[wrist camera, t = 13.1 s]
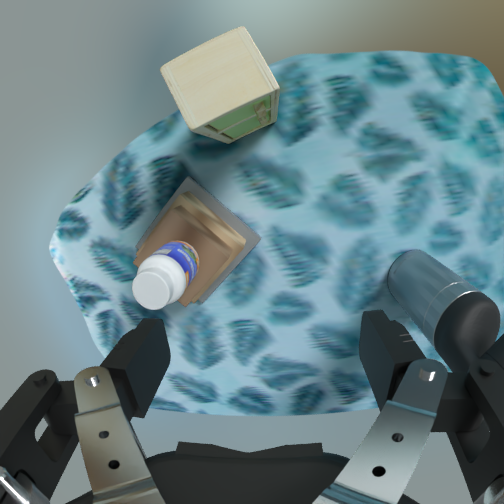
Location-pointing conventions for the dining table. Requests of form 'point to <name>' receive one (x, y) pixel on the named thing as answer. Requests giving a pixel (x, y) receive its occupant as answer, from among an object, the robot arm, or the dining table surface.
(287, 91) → the dining table surface
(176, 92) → the tall beige block
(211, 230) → the brown block
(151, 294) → the pill bottle
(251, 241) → the base plate
